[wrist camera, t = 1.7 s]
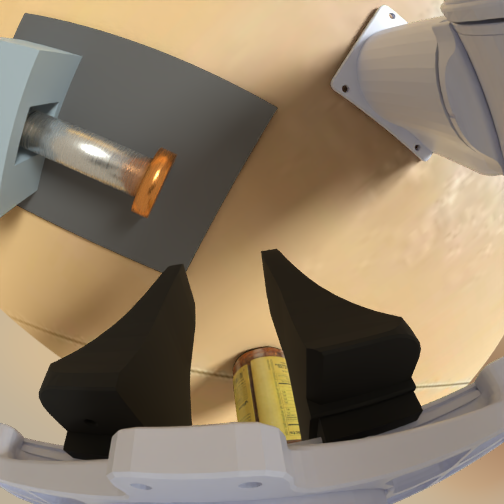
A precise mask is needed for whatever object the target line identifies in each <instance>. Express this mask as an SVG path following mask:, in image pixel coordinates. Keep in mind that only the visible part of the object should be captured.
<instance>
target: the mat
mask: <svg viewBox="0 0 504 504" xmlns="http://www.w3.org/2000/svg"><path fill="white" fill-rule="evenodd" d="M13 39H20V40H25V41H29V42H33V43H37V44H41V45H45V46H48V47H52V48H56V49H59V50H62V51H66V52H69V53H72V54H76V55H79V56H82V59H81V61H80V63H79V65H78V67H77V70H76V72H75V74H74V76H73V79H72V81H71V84H70V86H69V88H68V91H67V94H66V96H65V99H64V101H63V104H62V107H61V109H60V112H59V115H58V119H60V120H63V121H65V122H68V123H70V124H73V125H75V126H78V127H80V128H82V129H85V130H87V131H90V132H92V133H94V134H97V135H99V136H101V137H104V138H106V139H108V140H111V141H113V142H115V143H118V144H120V145H122V146H125V147H127V148H129V149H132V150H134V151H136V152H138V153H141V154H143V155H145V156H147V157H150V158H152V159H153V158H154V156H155V155H156V153H157V152H158V150H159V149H160V148H161V147H162V148H164V149H166V150H168V151H171V152H173V153H175V154H177V157H176V159H175V162H174V164H173V166H172V168H171V170H170V172H169V175H168V177H167V179H166V181H165V183H164V185H163V187H162V190H161V192H160V194H159V196H158V198H157V200H156V202H155V204H154V206H153V209H152V211H151V213H150V215H149V216H148V218H145V217H143V216H140V215H138V214H136V213H134V212H132V211H131V208H132V204H133V201H134V198H135V197H133V196H130V195H128V194H126V193H124V192H122V191H119V190H117V189H115V188H113V187H110V186H108V185H106V184H104V183H101V182H99V181H97V180H95V179H93V178H90V177H88V176H86V175H84V174H81V173H79V172H77V171H75V170H72V169H70V168H68V167H66V166H64V165H61V164H59V163H57V162H55V161H52V160H50V159H48V158H46V157H45V161H44V164H43V168H42V172H41V176H40V181H39V185H38V190H37V191H36V192H34V193H33V194H31V195H30V196H29V197H27V198H26V199H24V200H23V201H22V202H20V203H19V204H18V205H17V206H19V207H21V208H23V209H25V210H27V211H29V212H31V213H33V214H35V215H37V216H39V217H41V218H43V219H45V220H47V221H49V222H51V223H53V224H55V225H57V226H60V227H62V228H64V229H66V230H68V231H70V232H72V233H74V234H76V235H78V236H81V237H83V238H85V239H87V240H89V241H91V242H93V243H96V244H98V245H100V246H102V247H104V248H107V249H109V250H111V251H113V252H116V253H118V254H120V255H122V256H125V257H127V258H129V259H131V260H134V261H136V262H138V263H141V264H143V265H145V266H148V267H150V268H152V269H155V270H157V271H159V272H162V273H163V272H164V271H165V270H166V268H167V267H168V266H172V265H178V264H184V268H185V271H187V269H188V267H189V265H190V263H191V261H192V259H193V257H194V255H195V253H196V251H197V249H198V248H199V246H200V244H201V242H202V240H203V238H204V236H205V234H206V233H207V231H208V229H209V227H210V225H211V223H212V221H213V220H214V218H215V216H216V214H217V212H218V210H219V209H220V207H221V205H222V203H223V201H224V199H225V198H226V196H227V194H228V192H229V190H230V189H231V187H232V185H233V183H234V182H235V180H236V178H237V176H238V174H239V173H240V171H241V169H242V167H243V166H244V164H245V162H246V161H247V159H248V157H249V155H250V154H251V152H252V150H253V148H254V147H255V145H256V143H257V142H258V140H259V138H260V137H261V135H262V133H263V132H264V130H265V128H266V126H267V125H268V123H269V121H270V120H271V118H272V117H273V115H274V113H275V112H276V110H277V107H275V106H274V105H272V104H270V103H268V102H267V101H265V100H263V99H261V98H259V97H257V96H256V95H254V94H252V93H250V92H248V91H246V90H244V89H242V88H240V87H238V86H236V85H234V84H232V83H230V82H228V81H226V80H224V79H222V78H220V77H218V76H216V75H214V74H212V73H210V72H208V71H205V70H203V69H201V68H199V67H197V66H194V65H192V64H190V63H188V62H185V61H183V60H181V59H178V58H176V57H173V56H171V55H168V54H166V53H163V52H161V51H158V50H156V49H153V48H150V47H148V46H145V45H142V44H140V43H137V42H134V41H131V40H128V39H125V38H122V37H119V36H116V35H113V34H110V33H107V32H103V31H100V30H97V29H93V28H90V27H86V26H82V25H79V24H75V23H71V22H67V21H62V20H58V19H54V18H49V17H44V16H39V15H33V14H28V13H25V14H24V16H23V18H22V20H21V22H20V24H19V26H18V28H17V31H16V33H15V35H14V37H13Z"/></svg>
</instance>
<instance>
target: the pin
mask: <svg viewBox="0 0 504 504" xmlns="http://www.w3.org/2000/svg"><path fill="white" fill-rule="evenodd" d="M19 146H21V147H23V148H26V149H28V150H30V151H32V152H35V153H37V154H39V155H41V156H43V157H46V158H48V159H50V160H52V161H55V162H57V163H59V164H61V165H64V166H66V167H68V168H70V169H72V170H75V171H77V172H79V173H81V174H84V175H86V176H88V177H90V178H93V179H95V180H97V181H99V182H101V183H104V184H106V185H108V186H110V187H113V188H115V189H117V190H119V191H122V192H124V193H126V194H128V195H130V196H133V197H135V198H134V201H133V204H132V208H131V211H132V212H134V213H136V214H138V215H140V216H143V217H145V218H148V216H149V215H150V213H151V211H152V209H153V206H154V204H155V202H156V200H157V198H158V196H159V194H160V192H161V190H162V187H163V185H164V183H165V181H166V179H167V177H168V175H169V172H170V170H171V168H172V166H173V164H174V162H175V159H176V157H177V154H175V153H173V152H171V151H168V150H166V149H164V148H162V147H161V148H160V149H159V150H158V152H157V153H156V155H155V156H154V158H153V159H152V158H150V157H147V156H145V155H143V154H141V153H138V152H136V151H134V150H132V149H129V148H127V147H125V146H122V145H120V144H118V143H115V142H113V141H111V140H108V139H106V138H104V137H101V136H99V135H97V134H94V133H92V132H90V131H87V130H85V129H82V128H80V127H78V126H75V125H73V124H70V123H68V122H65V121H63V120H60V119H58V118H55V117H53V116H50V115H48V114H45V113H43V112H40V111H38V110H35V109H32V108H29V111H28V114H27V118H26V121H25V124H24V128H23V132H22V135H21V139H20V143H19Z"/></svg>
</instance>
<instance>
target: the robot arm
mask: <svg viewBox="0 0 504 504" xmlns="http://www.w3.org/2000/svg"><path fill="white" fill-rule="evenodd" d="M441 11H442V12H443V14H444V15H445V16H440V17H435V18H430V19H425V20H420V21H416V22H411V23H407V22H406V21H405V20H404V19H403V18H402V17H400V16H399V15H398V14H397V13H396V12H395V11H393V10H392V9H391V8H390V7H388V6H386V5H382V6H380V7H379V8H378V9H377V11H376V12H375V14H374V15H373V17H372V18H371V20H370V21H369V23H368V24H367V26H366V27H365V29H364V30H363V32H362V34H361V35H360V37H359V38H358V40H357V41H356V43H355V44H354V46H353V47H352V49H351V50H350V52H349V54H348V55H347V57H346V58H345V60H344V61H343V63H342V64H341V66H340V68H339V69H338V71H337V72H336V74H335V75H334V77H333V79H332V80H331V88H332V89H333V90H334V91H335V92H337V93H338V94H340V95H341V96H343V97H344V98H345V99H347V100H348V101H350V102H351V103H352V104H354V105H355V106H356V107H358V108H359V109H360V110H362V111H363V112H364V113H366V114H367V115H368V116H370V117H371V118H372V119H374V120H375V121H376V122H377V123H379V124H380V125H381V126H382V127H384V128H385V129H386V130H387V131H388V132H390V133H391V134H392V135H393V136H394V137H396V138H397V139H398V140H399V141H400V142H401V143H403V144H404V145H405V146H406V147H407V148H408V149H409V150H410V151H412V152H413V153H414V154H415V155H416V156H417V157H418V158H419V159H421V160H422V161H428V160H429V158H430V157H431V155H432V153H435V154H438V155H440V156H442V157H445V158H447V159H449V160H452V161H454V162H456V163H458V164H460V165H463V166H465V167H467V168H469V169H471V170H473V171H475V172H477V173H479V174H482V175H486V176H497V175H504V0H444V3H443V4H442V5H441ZM389 14H391V15H392V17H393V18H392V19H391V18H390V17H389ZM344 85H345V86H346V87H347V91H346V92H343V91H342V87H343V86H344ZM416 145H418V147H417V149H416V150H415V146H416ZM261 254H262V262H263V270H264V278H265V285H266V293H267V298H268V304H269V309H270V314H271V317H272V320H273V323H274V326H275V329H276V332H277V335H278V338H279V341H280V344H281V347H282V350H283V354H284V357H285V360H286V364H287V368H288V373H289V378H290V383H291V388H292V393H293V398H294V403H295V408H296V413H297V418H298V423H299V429H300V434H301V440H302V441H300V442H295V443H289V444H287V441H286V436H285V435H284V434H283V433H282V432H281V431H280V429H279V428H277V427H275V426H272V425H268V424H264V423H260V422H230V423H220V424H209V425H194V426H192V419H191V401H190V368H191V359H192V350H193V342H194V333H195V302H194V299H193V295H192V292H191V289H190V285H189V282H188V278H187V275H186V271H185V268H184V264H178V265H172V266H168V267H167V268H166V270H165V271H164V272H163V273H162V274H161V276H160V277H159V278H158V279H157V280H156V282H155V283H154V284H153V285H152V286H151V288H150V289H149V290H148V291H147V292H146V294H145V295H144V296H143V297H142V298H141V299H140V300H139V301H138V302H137V303H136V304H135V305H134V307H133V308H132V309H131V310H130V311H129V312H128V313H127V314H126V315H125V316H123V317H122V318H121V319H120V320H119V321H118V322H117V323H116V324H114V325H113V326H112V327H111V328H109V329H108V330H107V331H105V332H104V333H103V334H101V335H100V336H99V337H97V338H96V339H95V340H93V341H92V342H90V343H88V344H87V345H85V346H84V347H82V348H80V349H79V350H77V351H75V352H73V353H72V354H70V355H68V356H66V357H64V358H62V359H60V360H58V361H56V362H54V363H51V364H50V366H49V369H48V371H47V373H46V376H45V378H44V381H43V383H42V386H41V388H40V391H39V399H40V401H41V403H42V405H43V407H44V408H45V409H46V410H47V411H48V412H49V414H51V416H53V418H54V419H55V420H56V421H57V422H58V423H59V424H60V425H62V426H63V427H64V428H65V429H66V430H67V431H68V432H67V436H66V439H65V443H64V446H62V445H56V444H51V443H45V442H40V441H36V440H32V439H27V438H24V437H23V436H22V435H21V434H20V433H19V432H18V431H17V430H16V429H14V428H13V427H11V426H9V425H6V424H2V423H0V487H1V488H3V489H4V490H6V491H8V492H9V493H11V494H13V495H14V496H16V497H18V498H20V499H23V500H25V501H28V502H31V503H33V504H393V503H396V502H398V501H400V500H403V499H405V498H407V497H410V496H411V495H414V494H416V493H418V492H420V491H422V490H424V489H426V488H428V487H430V486H432V485H434V484H436V483H438V482H440V481H442V480H444V479H446V478H447V477H449V476H451V475H453V474H454V473H456V472H458V471H460V470H461V469H463V468H465V467H466V466H468V465H470V464H471V463H473V462H474V461H476V460H477V459H479V458H481V457H482V456H484V455H485V454H487V453H488V452H490V451H491V450H493V449H494V448H496V447H497V446H499V445H500V444H502V443H503V442H504V356H503V357H501V358H499V359H497V360H495V361H493V362H492V363H490V364H488V365H487V366H485V367H484V368H483V369H482V370H481V371H480V372H479V374H478V376H477V378H476V379H475V382H474V383H472V384H470V385H468V386H466V387H464V388H462V389H460V390H457V391H455V392H453V393H451V394H449V395H447V396H444V397H442V398H440V399H437V400H435V401H433V402H430V403H428V404H425V405H423V406H421V405H420V403H419V401H418V399H417V397H416V395H415V393H414V391H415V389H416V385H415V383H414V381H413V379H412V378H411V377H412V374H413V372H414V369H415V367H416V364H417V362H418V359H419V356H420V351H421V347H420V342H419V341H418V339H417V337H416V336H415V334H414V333H413V331H412V330H411V328H410V327H409V326H408V324H407V323H406V322H405V321H404V320H403V318H402V317H398V316H394V315H389V314H385V313H381V312H377V311H374V310H371V309H368V308H365V307H362V306H359V305H356V304H354V303H351V302H349V301H347V300H345V299H343V298H340V297H338V296H336V295H334V294H332V293H331V292H329V291H327V290H326V289H324V288H322V287H321V286H319V285H317V284H316V283H315V282H313V281H312V280H311V279H309V278H308V277H307V276H305V275H304V274H303V273H302V272H301V271H300V270H298V269H297V268H296V267H295V266H294V265H293V264H292V263H291V262H290V261H289V260H287V259H286V257H285V256H284V255H283V254H282V253H281V252H280V251H279V250H277V249H273V250H267V251H261Z"/></svg>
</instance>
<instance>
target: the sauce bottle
mask: <svg viewBox="0 0 504 504" xmlns="http://www.w3.org/2000/svg"><path fill="white" fill-rule="evenodd" d="M233 375H234V377H233V388H234V396H235V404H236V412H237V420H238V422H260V423H264V424H268V425H272V426H275V427H277V428H279V429H280V431H281V432H282V433H283V434H284V435H285V436H286V441H287V444H289V443H295V442H300V441H302V440H301V434H300V429H299V423H298V418H297V413H296V408H295V403H294V398H293V393H292V388H291V383H290V378H289V373H288V368H287V364H286V360H285V357H284V354H283V350H280V349H278V348H273V347H269V346H268V347H263V348H258V349H255V350H251V351H248V352H246V353H244V354H243V355H242V356H240V357H239V358H238V359H237V361H236V363H235V365H234V367H233Z"/></svg>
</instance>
